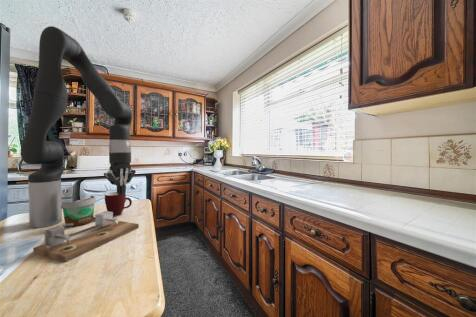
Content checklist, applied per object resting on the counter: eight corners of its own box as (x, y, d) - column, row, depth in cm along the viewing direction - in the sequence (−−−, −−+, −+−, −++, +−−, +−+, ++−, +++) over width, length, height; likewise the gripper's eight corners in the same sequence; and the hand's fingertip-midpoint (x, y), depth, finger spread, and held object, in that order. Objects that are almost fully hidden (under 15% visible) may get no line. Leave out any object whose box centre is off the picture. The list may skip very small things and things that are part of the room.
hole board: (33, 252, 55) (32, 230, 55) (111, 223, 78) (111, 207, 77) (65, 262, 51) (65, 238, 50) (138, 227, 73) (138, 211, 73)
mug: (129, 210, 95) (129, 190, 95) (133, 214, 89) (133, 193, 89) (103, 214, 88) (103, 193, 88) (106, 219, 82) (106, 196, 82)
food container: (74, 230, 70) (73, 203, 70) (61, 228, 72) (60, 202, 71) (104, 219, 82) (103, 196, 82) (92, 217, 84) (91, 195, 83)
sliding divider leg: (95, 225, 69) (95, 214, 69) (106, 221, 73) (105, 210, 73) (112, 228, 67) (111, 216, 67) (122, 224, 71) (122, 213, 70)
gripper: (127, 151, 84) (128, 190, 84) (96, 151, 71) (98, 197, 72) (140, 151, 81) (141, 191, 82) (111, 151, 69) (112, 199, 69)
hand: (121, 194), depth 77 cm, fingers closed
